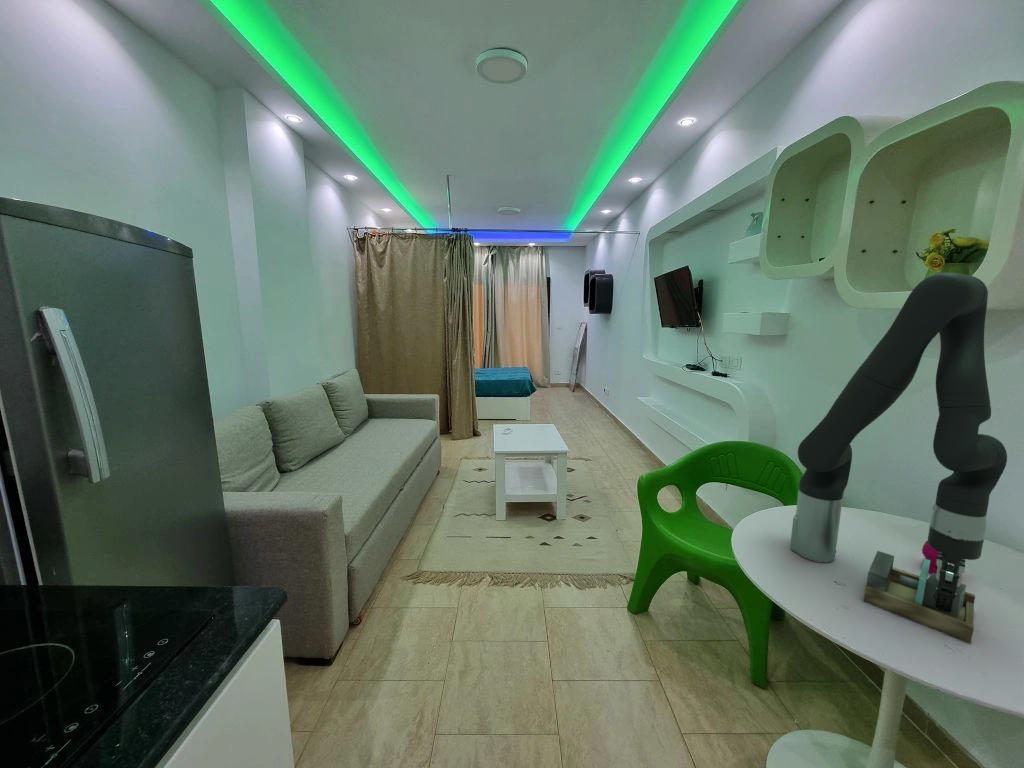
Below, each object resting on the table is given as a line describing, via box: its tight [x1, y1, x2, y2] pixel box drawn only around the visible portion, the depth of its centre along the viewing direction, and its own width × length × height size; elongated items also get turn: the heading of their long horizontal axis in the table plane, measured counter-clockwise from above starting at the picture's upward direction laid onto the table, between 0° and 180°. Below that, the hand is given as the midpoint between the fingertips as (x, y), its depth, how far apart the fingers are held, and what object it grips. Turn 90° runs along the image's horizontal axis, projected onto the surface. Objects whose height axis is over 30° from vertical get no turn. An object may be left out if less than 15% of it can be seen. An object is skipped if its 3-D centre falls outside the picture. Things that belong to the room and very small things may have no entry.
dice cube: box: [923, 573, 967, 616], centre depth 85 cm, size 5×5×5 cm
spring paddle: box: [899, 558, 930, 606], centre depth 89 cm, size 4×11×8 cm, turn 131°
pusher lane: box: [863, 550, 976, 644], centre depth 88 cm, size 16×14×7 cm
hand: (943, 602), depth 86 cm, fingers closed on dice cube, 5 cm apart
